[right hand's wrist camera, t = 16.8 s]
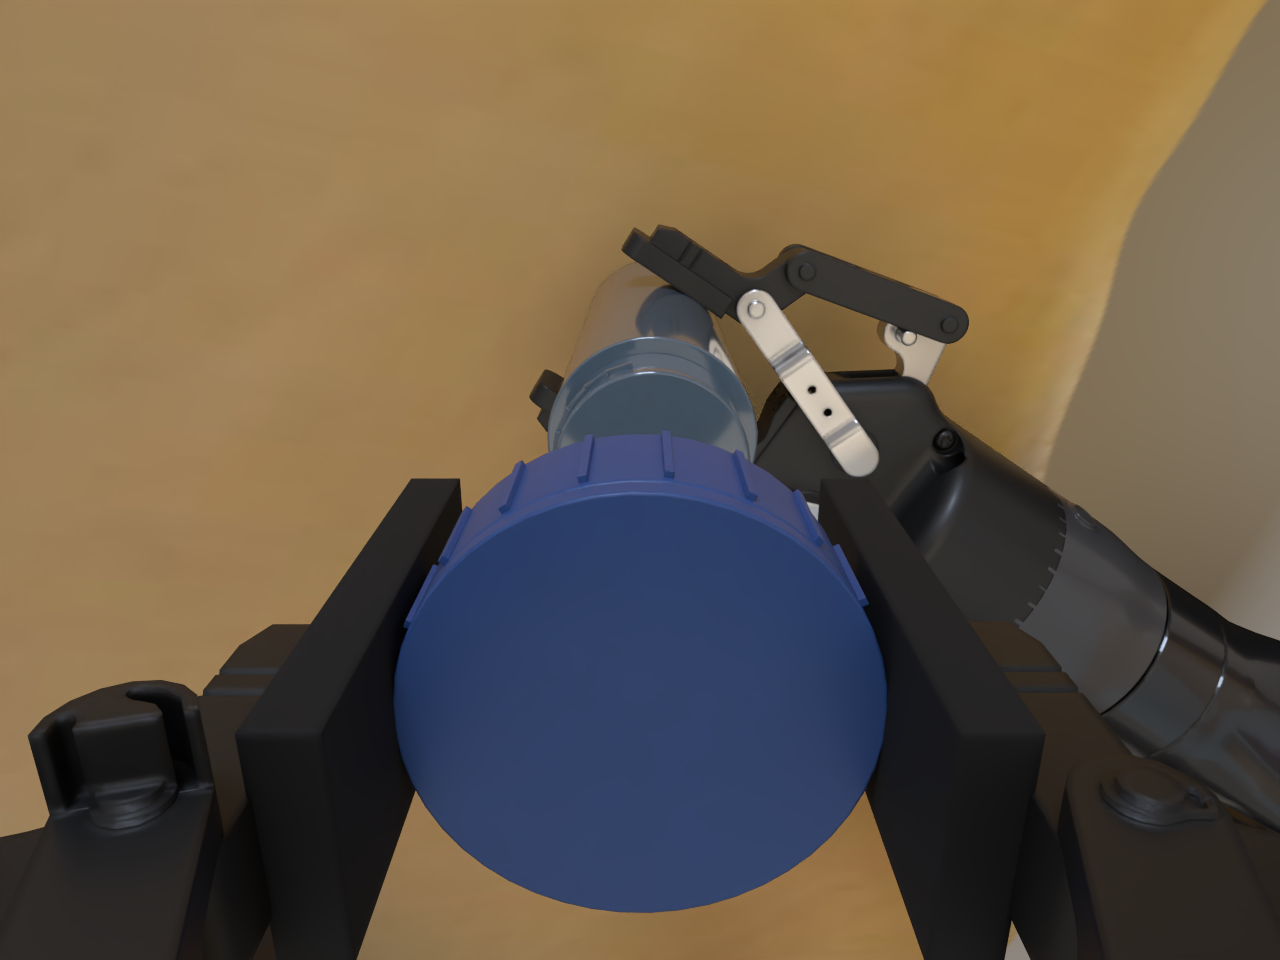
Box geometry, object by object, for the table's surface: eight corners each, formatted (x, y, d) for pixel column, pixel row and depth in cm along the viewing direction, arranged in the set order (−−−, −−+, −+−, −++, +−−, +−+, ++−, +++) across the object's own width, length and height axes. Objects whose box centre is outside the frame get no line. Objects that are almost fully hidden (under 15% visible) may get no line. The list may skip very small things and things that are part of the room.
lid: (513, 844, 14) (491, 963, 12) (358, 500, 12) (299, 573, 10) (892, 748, 13) (937, 856, 11) (793, 369, 11) (827, 418, 9)
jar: (599, 249, 35) (555, 334, 18) (724, 272, 35) (791, 377, 18) (580, 372, 36) (523, 551, 20) (699, 393, 36) (740, 588, 20)
